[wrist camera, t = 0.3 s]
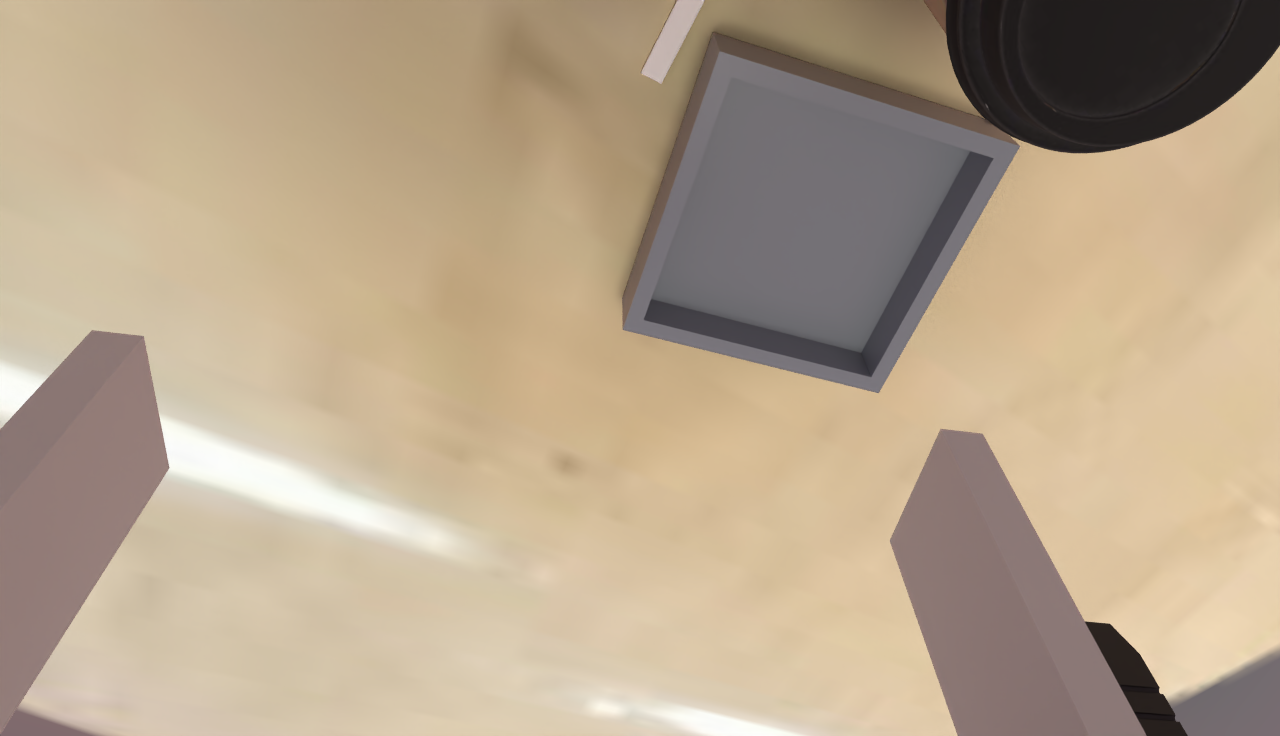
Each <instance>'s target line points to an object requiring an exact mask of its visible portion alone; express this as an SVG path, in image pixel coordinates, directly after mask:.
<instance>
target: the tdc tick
mask: <svg viewBox="0 0 1280 736" xmlns="http://www.w3.org/2000/svg"><path fill="white" fill-rule="evenodd" d="M704 1H705V0H677V1H676V3H675V5H674V7H673V9H672V11H671V13H670V15H669V17H668V19H667V21H666V23H665V25H664V27H663V29H662V31H661V33H660V35H659V37H658V39H657V41H656V43H655V45H654V47H653V49H652V51H651V53H650V55H649V57H648V59H647V61H646V63H645V65H644V67H643V69H642V71H641V74H643V75H645V76H647V77H649V78H651V79H653V80H655V81H657V82H659V83H661V84H662V82H663V80H664V78H665V76H666V74H667V72H668V70H669V68H670V66H671V64H672V62H673V60H674V59H675V57H676V55H677V53H678V51H679V49H680V47H681V45H682V43H683V41H684V39H685V37H686V35H687V34H688V32H689V30H690V28H691V26H692V24H693V22H694V20H695V18H696V16H697V14H698V12H699V10H700V9H701V7H702V5H703V3H704Z"/></svg>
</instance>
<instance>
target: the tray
mask: <svg viewBox="0 0 1280 736" xmlns="http://www.w3.org/2000/svg"><path fill="white" fill-rule="evenodd" d="M1019 147H1020V146H1019V145H1018V144H1017V143H1016V142H1015V141H1014V140H1013V139H1012V138H1011V137H1010V136H1009V135H1008V134H1006V133H1005V132H1003V131H1001V130H1000V129H998V128H997V127H995V126H994V125H993V124H991V123H990V122H989V121H988V120H987V119H983V118H980V117H977V116H974V115H971V114H968V113H965V112H962V111H958V110H955V109H952V108H949V107H946V106H943V105H940V104H937V103H933V102H930V101H927V100H924V99H921V98H918V97H915V96H912V95H908V94H905V93H902V92H899V91H896V90H893V89H890V88H887V87H883V86H880V85H877V84H874V83H871V82H868V81H865V80H862V79H858V78H855V77H852V76H849V75H846V74H843V73H840V72H837V71H833V70H830V69H827V68H824V67H821V66H818V65H815V64H812V63H808V62H805V61H802V60H799V59H796V58H793V57H790V56H787V55H783V54H780V53H777V52H774V51H771V50H768V49H765V48H761V47H758V46H755V45H752V44H749V43H746V42H743V41H740V40H736V39H733V38H730V37H727V36H724V35H721V34H718V33H715V32H713V33H712V36H711V39H710V42H709V45H708V48H707V51H706V54H705V57H704V60H703V63H702V66H701V69H700V72H699V74H698V77H697V80H696V83H695V86H694V89H693V92H692V95H691V98H690V101H689V104H688V107H687V110H686V113H685V116H684V119H683V122H682V124H681V127H680V130H679V133H678V136H677V139H676V142H675V145H674V148H673V151H672V154H671V157H670V160H669V163H668V166H667V169H666V172H665V174H664V177H663V180H662V183H661V186H660V189H659V192H658V195H657V198H656V201H655V204H654V207H653V210H652V213H651V216H650V219H649V221H648V224H647V227H646V230H645V233H644V236H643V239H642V242H641V245H640V248H639V251H638V254H637V257H636V260H635V263H634V266H633V269H632V271H631V274H630V277H629V280H628V283H627V286H626V289H625V292H624V295H623V298H622V308H623V330H626V331H630V332H634V333H638V334H642V335H646V336H650V337H654V338H658V339H662V340H666V341H670V342H674V343H678V344H682V345H686V346H690V347H694V348H699V349H703V350H707V351H711V352H715V353H719V354H723V355H727V356H731V357H735V358H739V359H743V360H747V361H751V362H755V363H759V364H763V365H767V366H771V367H775V368H779V369H783V370H787V371H791V372H795V373H799V374H803V375H808V376H812V377H816V378H820V379H824V380H828V381H832V382H836V383H840V384H844V385H848V386H852V387H856V388H860V389H864V390H868V391H872V392H876V393H879V392H880V390H881V388H882V386H883V385H884V383H885V381H886V379H887V378H888V376H889V374H890V372H891V371H892V369H893V367H894V365H895V364H896V362H897V360H898V358H899V357H900V355H901V353H902V351H903V350H904V348H905V346H906V344H907V343H908V341H909V339H910V337H911V336H912V334H913V332H914V330H915V329H916V327H917V325H918V323H919V322H920V320H921V318H922V316H923V315H924V313H925V311H926V309H927V308H928V306H929V304H930V302H931V301H932V299H933V297H934V295H935V294H936V292H937V290H938V288H939V287H940V285H941V283H942V282H943V280H944V278H945V276H946V275H947V273H948V271H949V269H950V268H951V266H952V264H953V262H954V261H955V259H956V257H957V255H958V254H959V252H960V250H961V248H962V247H963V245H964V243H965V241H966V240H967V238H968V236H969V234H970V233H971V231H972V229H973V227H974V226H975V224H976V222H977V220H978V219H979V217H980V215H981V213H982V212H983V210H984V208H985V206H986V205H987V203H988V201H989V199H990V198H991V196H992V194H993V192H994V191H995V189H996V187H997V185H998V184H999V182H1000V180H1001V178H1002V177H1003V175H1004V173H1005V171H1006V170H1007V168H1008V166H1009V164H1010V163H1011V161H1012V159H1013V157H1014V156H1015V154H1016V152H1017V150H1018V149H1019Z"/></svg>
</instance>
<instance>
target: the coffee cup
mask: <svg viewBox="0 0 1280 736" xmlns="http://www.w3.org/2000/svg"><path fill="white" fill-rule="evenodd" d="M924 2H925V4H926V5H927V7H928V8H929V9H930V11H931V12H932V14H933V15H934V17H935V18H936V20H937V21H938V23H939V24H940V26H941V27H942V28H943V30H944V31H945V33H946V35H947V45H948V50H949V55H950V59H951V62H952V66H953V69H954V72H955V75H956V77H957V79H958V82H959V84H960V86H961V88H962V89H963V91H964V93H965V95H966V96H967V98H968V99H969V101H970V102H971V103H972V105H973V106H974V107H975V108H976V109H977V111H978V112H979V113H980V114H981V115H982V116H983V117H984V118H985V119H987V120H988V121H989V122H990V123H991V124H993V125H994V126H995V127H997V128H998V129H1000V130H1001V131H1003V132H1005V133H1006V134H1008V135H1010V136H1012V137H1014V138H1017V139H1019V140H1021V141H1024V142H1027V143H1030V144H1032V145H1035V146H1038V147H1041V148H1044V149H1048V150H1053V151H1058V152H1067V153H1096V152H1105V151H1111V150H1117V149H1121V148H1125V147H1129V146H1132V145H1136V144H1139V143H1142V142H1146V141H1150V140H1153V139H1157V138H1160V137H1163V136H1166V135H1168V134H1171V133H1173V132H1176V131H1178V130H1180V129H1182V128H1184V127H1186V126H1188V125H1190V124H1192V123H1194V122H1196V121H1198V120H1199V119H1201V118H1203V117H1205V116H1206V115H1208V114H1209V113H1211V112H1212V111H1214V110H1215V109H1217V108H1218V107H1219V106H1221V105H1222V104H1224V103H1225V102H1226V101H1228V100H1229V99H1230V98H1231V97H1232V96H1234V95H1235V94H1236V93H1237V92H1238V91H1240V90H1241V89H1242V88H1243V87H1244V86H1245V85H1246V84H1247V83H1248V82H1249V81H1250V80H1251V79H1252V78H1253V77H1254V76H1255V75H1256V74H1257V73H1258V72H1259V71H1260V70H1261V69H1262V67H1263V66H1264V65H1265V64H1266V63H1267V61H1268V60H1269V59H1270V58H1271V57H1272V55H1273V54H1274V53H1275V51H1276V50H1277V49H1278V47H1279V46H1280V0H924Z"/></svg>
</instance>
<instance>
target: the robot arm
mask: <svg viewBox="0 0 1280 736" xmlns="http://www.w3.org/2000/svg"><path fill="white" fill-rule="evenodd" d="M168 469H169V464H168V459H167V454H166V448H165V443H164V438H163V433H162V428H161V423H160V418H159V413H158V407H157V402H156V397H155V392H154V387H153V382H152V377H151V371H150V366H149V361H148V356H147V351H146V346H145V341H144V336H137V335H128V334H120V333H111V332H102V331H94V330H92V331H91V332H90V333H89V334H88V335H87V336H86V337H85V338H84V340H83V341H82V342H81V343H80V344H79V345H78V346H77V347H76V348H75V349H74V350H73V351H72V353H71V354H70V355H69V356H68V357H67V358H66V359H65V360H64V361H63V362H62V363H61V364H60V366H59V367H58V368H57V369H56V370H55V371H54V372H53V373H52V374H51V375H50V376H49V377H48V378H47V380H46V381H45V382H44V383H43V384H42V385H41V386H40V387H39V388H38V389H37V390H36V391H35V393H34V394H33V395H32V396H31V397H30V398H29V399H28V400H27V401H26V402H25V403H24V404H23V406H22V407H21V408H20V409H19V410H18V411H17V412H16V413H15V414H14V415H13V416H12V417H11V419H10V420H9V421H8V422H7V423H6V424H5V425H4V426H3V427H2V428H1V429H0V734H1V732H2V731H3V729H4V728H5V726H6V725H7V723H8V722H9V720H10V718H11V717H12V715H13V714H14V712H15V711H16V709H17V707H18V706H19V704H20V703H21V701H22V700H23V698H24V696H25V695H26V693H27V692H28V690H29V688H30V687H31V685H32V684H33V682H34V681H35V679H36V677H37V676H38V674H39V673H40V671H41V670H42V668H43V666H44V665H45V663H46V662H47V660H48V659H49V657H50V655H51V654H52V652H53V651H54V649H55V647H56V646H57V644H58V643H59V641H60V640H61V638H62V636H63V635H64V633H65V632H66V630H67V629H68V627H69V625H70V624H71V622H72V621H73V619H74V618H75V616H76V614H77V613H78V611H79V610H80V608H81V606H82V605H83V603H84V602H85V600H86V599H87V597H88V595H89V594H90V592H91V591H92V589H93V588H94V586H95V584H96V583H97V581H98V580H99V578H100V577H101V575H102V573H103V572H104V570H105V569H106V567H107V565H108V564H109V562H110V561H111V559H112V558H113V556H114V554H115V553H116V551H117V550H118V548H119V547H120V545H121V543H122V542H123V540H124V539H125V537H126V536H127V534H128V532H129V531H130V529H131V528H132V526H133V525H134V523H135V521H136V520H137V518H138V517H139V515H140V513H141V512H142V510H143V509H144V507H145V506H146V504H147V502H148V501H149V499H150V498H151V496H152V495H153V493H154V491H155V490H156V488H157V487H158V485H159V484H160V482H161V480H162V479H163V477H164V476H165V474H166V472H167V471H168ZM890 543H891V546H892V549H893V552H894V554H895V557H896V560H897V563H898V566H899V569H900V572H901V574H902V577H903V580H904V583H905V586H906V589H907V592H908V594H909V597H910V600H911V603H912V606H913V609H914V612H915V615H916V617H917V620H918V623H919V626H920V629H921V632H922V635H923V637H924V640H925V643H926V646H927V649H928V652H929V655H930V657H931V660H932V663H933V666H934V669H935V672H936V675H937V677H938V680H939V683H940V686H941V689H942V692H943V695H944V698H945V700H946V703H947V706H948V709H949V712H950V715H951V718H952V720H953V723H954V726H955V729H956V732H957V735H958V736H1187V734H1186V732H1185V730H1184V729H1183V727H1182V725H1181V724H1180V722H1176V721H1175V713H1174V712H1173V710H1172V708H1171V707H1170V705H1169V703H1168V701H1167V700H1166V698H1165V696H1164V695H1163V694H1160V693H1159V686H1158V684H1157V683H1156V681H1155V679H1154V677H1153V676H1152V674H1151V672H1150V671H1149V669H1148V667H1147V666H1146V664H1145V662H1144V660H1143V659H1142V657H1141V655H1140V654H1139V653H1138V652H1137V651H1136V650H1135V649H1134V648H1133V647H1132V646H1131V645H1130V644H1129V643H1128V642H1127V641H1126V640H1125V639H1124V638H1123V637H1122V636H1121V635H1120V634H1119V633H1118V632H1117V631H1116V630H1115V629H1114V628H1113V627H1112V625H1111V624H1106V623H1095V622H1085V621H1084V619H1083V618H1082V616H1081V614H1080V612H1079V610H1078V608H1077V607H1076V605H1075V603H1074V601H1073V599H1072V597H1071V596H1070V594H1069V592H1068V590H1067V588H1066V586H1065V584H1064V583H1063V581H1062V579H1061V577H1060V575H1059V573H1058V572H1057V570H1056V568H1055V566H1054V564H1053V562H1052V561H1051V559H1050V557H1049V555H1048V553H1047V551H1046V549H1045V548H1044V546H1043V544H1042V542H1041V540H1040V538H1039V537H1038V535H1037V533H1036V531H1035V529H1034V527H1033V526H1032V524H1031V522H1030V520H1029V518H1028V516H1027V515H1026V513H1025V511H1024V509H1023V507H1022V505H1021V503H1020V502H1019V500H1018V498H1017V496H1016V494H1015V492H1014V491H1013V489H1012V487H1011V485H1010V483H1009V481H1008V480H1007V478H1006V476H1005V474H1004V472H1003V470H1002V468H1001V467H1000V465H999V463H998V461H997V459H996V457H995V456H994V454H993V452H992V450H991V448H990V446H989V445H988V443H987V441H986V439H985V437H984V435H983V434H980V433H972V432H963V431H954V430H946V429H940V432H939V434H938V436H937V438H936V440H935V443H934V445H933V447H932V449H931V451H930V454H929V456H928V458H927V460H926V462H925V465H924V467H923V469H922V471H921V473H920V476H919V478H918V480H917V482H916V484H915V486H914V489H913V491H912V493H911V495H910V497H909V500H908V502H907V504H906V506H905V508H904V511H903V513H902V515H901V517H900V519H899V522H898V524H897V526H896V528H895V530H894V533H893V535H892V537H891V539H890Z"/></svg>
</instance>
